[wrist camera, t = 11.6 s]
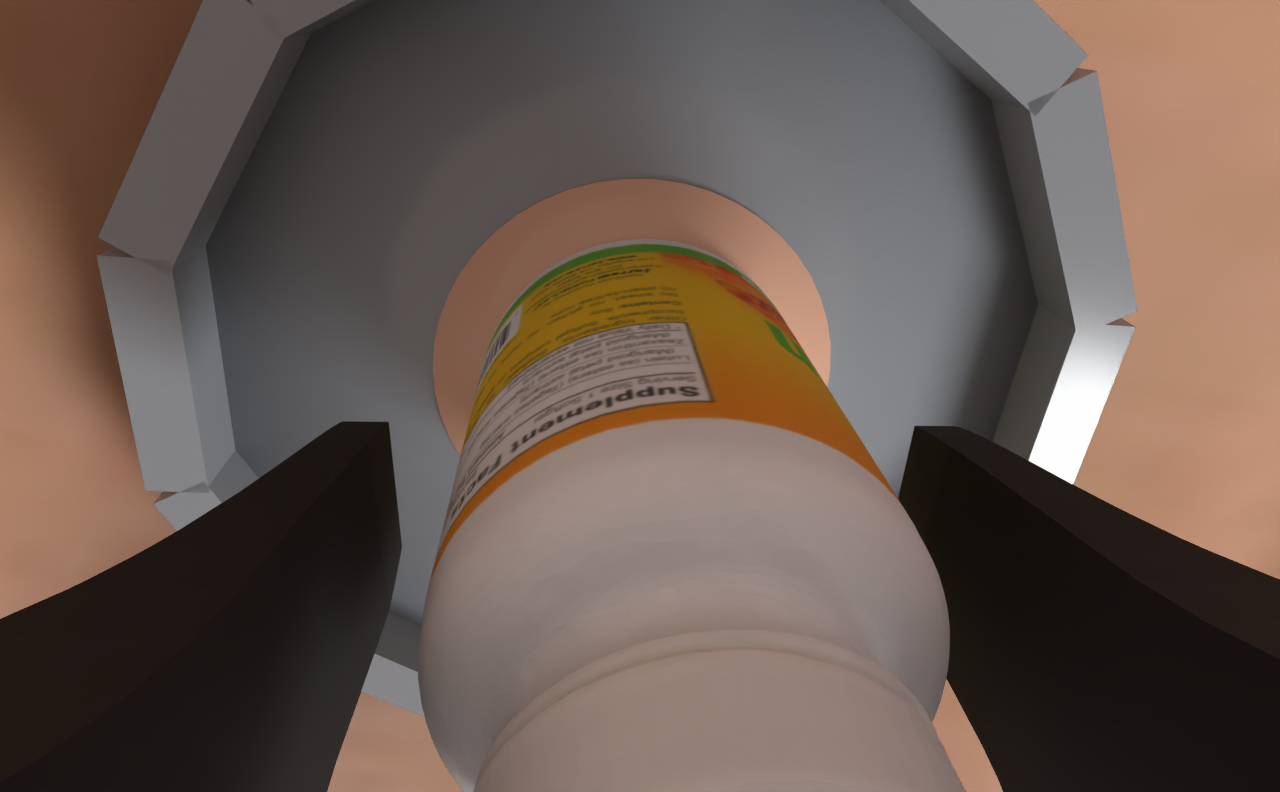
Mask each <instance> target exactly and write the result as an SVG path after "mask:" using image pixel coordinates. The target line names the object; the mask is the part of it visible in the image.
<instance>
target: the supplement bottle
mask: <svg viewBox="0 0 1280 792" xmlns="http://www.w3.org/2000/svg"><path fill="white" fill-rule="evenodd" d="M949 652H950V624H949V616H948V608H947V603H946V599H945V594H944V591H943V587H942V584H941V580H940V577H939V574H938V572H937V569H936V567H935V565H934V562H933V560H932V558H931V556H930V554H929V552H928V550H927V548H926V546H925V544H924V542H923V540H922V539H921V537H920V535H919V533H918V531H917V529H916V527H915V525H914V524H913V522H912V520H911V519H910V517H909V516H908V514H907V512H906V511H905V509H904V508H903V506H902V504H901V503H900V501H899V499H898V498H897V496H896V495H895V493H894V491H893V490H892V488H891V487H890V485H889V483H888V482H887V480H886V479H885V477H884V475H883V474H882V472H881V471H880V469H879V468H878V466H877V464H876V463H875V461H874V460H873V458H872V456H871V455H870V453H869V452H868V450H867V449H866V447H865V445H864V444H863V442H862V441H861V439H860V438H859V436H858V434H857V433H856V431H855V430H854V428H853V427H852V425H851V423H850V422H849V420H848V419H847V417H846V416H845V414H844V413H843V411H842V409H841V408H840V406H839V405H838V403H837V402H836V400H835V399H834V397H833V395H832V394H831V392H830V391H829V389H828V388H827V386H826V384H825V383H824V381H823V380H822V378H821V377H820V375H819V373H818V372H817V370H816V369H815V367H814V366H813V364H812V363H811V361H810V359H809V358H808V356H807V355H806V353H805V351H804V350H803V348H802V347H801V345H800V344H799V342H798V341H797V339H796V337H795V336H794V334H793V333H792V331H791V330H790V328H789V327H788V325H787V324H786V322H785V320H784V318H783V317H782V315H781V314H780V312H779V311H778V310H777V308H776V307H775V305H774V304H773V303H772V302H771V300H770V299H769V298H768V297H767V296H766V294H765V293H764V292H763V291H762V289H761V288H760V287H759V286H758V285H757V284H756V283H755V282H754V281H753V280H752V279H751V278H749V277H748V276H747V275H746V274H745V273H744V272H742V271H741V270H740V269H738V268H737V267H735V266H734V265H732V264H731V263H729V262H728V261H726V260H725V259H723V258H721V257H719V256H717V255H715V254H713V253H711V252H709V251H706V250H703V249H700V248H698V247H695V246H692V245H689V244H684V243H680V242H676V241H669V240H661V239H630V240H620V241H615V242H610V243H605V244H600V245H596V246H593V247H590V248H587V249H584V250H582V251H579V252H577V253H574V254H572V255H569V256H567V257H565V258H564V259H562V260H560V261H558V262H557V263H555V264H554V265H552V266H550V267H549V268H547V269H546V270H544V271H543V272H542V273H541V274H539V275H538V276H537V277H536V278H535V279H533V280H532V281H531V282H530V283H529V284H528V285H527V286H526V287H525V288H524V289H523V290H522V291H521V292H520V294H519V295H518V296H517V297H516V298H515V299H514V301H513V302H512V303H511V304H510V306H509V307H508V309H507V310H506V312H505V313H504V315H503V317H502V318H501V320H500V322H499V323H498V325H497V327H496V329H495V331H494V334H493V336H492V339H491V342H490V344H489V347H488V349H487V352H486V356H485V359H484V362H483V366H482V369H481V373H480V377H479V380H478V385H477V389H476V392H475V398H474V402H473V405H472V410H471V415H470V418H469V422H468V427H467V431H466V435H465V439H464V443H463V447H462V451H461V455H460V460H459V463H458V466H457V471H456V476H455V480H454V485H453V489H452V493H451V498H450V502H449V506H448V510H447V514H446V518H445V522H444V526H443V530H442V534H441V538H440V542H439V546H438V550H437V554H436V558H435V562H434V567H433V570H432V574H431V579H430V583H429V587H428V591H427V596H426V600H425V605H424V612H423V619H422V626H421V631H420V640H419V649H418V683H419V690H420V697H421V704H422V708H423V712H424V716H425V719H426V723H427V726H428V729H429V732H430V734H431V737H432V740H433V742H434V745H435V747H436V749H437V751H438V753H439V755H440V757H441V759H442V761H443V763H444V764H445V766H446V768H447V769H448V771H449V772H450V773H451V775H452V776H453V778H454V779H455V780H456V782H457V783H458V785H459V786H460V787H461V789H462V790H463V791H464V792H966V791H965V789H964V787H963V785H962V783H961V781H960V779H959V777H958V775H957V773H956V771H955V769H954V768H953V766H952V764H951V762H950V759H949V757H948V755H947V753H946V751H945V749H944V747H943V745H942V743H941V742H940V740H939V738H938V736H937V733H936V730H935V728H934V726H933V724H932V721H933V719H934V717H935V714H936V711H937V709H938V706H939V704H940V701H941V697H942V693H943V689H944V685H945V681H946V677H947V672H948V665H949Z"/></svg>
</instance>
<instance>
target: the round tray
mask: <svg viewBox="0 0 1280 792" xmlns="http://www.w3.org/2000/svg"><path fill="white" fill-rule="evenodd" d="M1087 56H1088V54H1087V53H1086V52H1085V51H1084V50H1083V49H1082V48H1081V47H1080V46H1079V45H1078V44H1077V43H1076V42H1075V41H1074V40H1073V39H1072V38H1071V37H1070V36H1069V35H1068V34H1067V33H1066V32H1065V31H1064V30H1063V29H1062V28H1061V27H1060V26H1059V25H1058V24H1057V23H1056V22H1055V21H1054V20H1053V19H1052V18H1051V17H1050V16H1049V15H1048V14H1047V13H1046V12H1045V11H1044V10H1043V9H1042V8H1041V7H1040V6H1039V5H1038V4H1037V3H1036V2H1035V1H1034V0H203V1H202V4H201V6H200V8H199V10H198V13H197V15H196V17H195V19H194V22H193V24H192V26H191V28H190V31H189V33H188V35H187V38H186V40H185V42H184V44H183V47H182V49H181V51H180V53H179V56H178V58H177V60H176V62H175V65H174V67H173V69H172V71H171V74H170V76H169V78H168V80H167V83H166V85H165V87H164V90H163V92H162V94H161V96H160V99H159V101H158V103H157V105H156V108H155V110H154V112H153V114H152V117H151V119H150V121H149V123H148V126H147V128H146V130H145V132H144V135H143V137H142V139H141V141H140V144H139V146H138V148H137V151H136V153H135V155H134V157H133V160H132V162H131V164H130V166H129V169H128V171H127V173H126V175H125V178H124V180H123V182H122V184H121V187H120V189H119V191H118V193H117V196H116V198H115V200H114V202H113V205H112V207H111V209H110V212H109V214H108V216H107V218H106V221H105V223H104V225H103V227H102V230H101V232H100V234H99V236H98V238H100V239H102V240H104V241H105V242H107V243H109V244H111V245H113V247H111V248H109V249H107V250H105V251H104V252H102V253H100V254H98V255H96V256H97V261H98V266H99V270H100V275H101V280H102V285H103V289H104V294H105V299H106V304H107V309H108V313H109V318H110V323H111V328H112V333H113V337H114V342H115V347H116V352H117V357H118V361H119V366H120V371H121V376H122V381H123V385H124V390H125V395H126V400H127V405H128V409H129V414H130V419H131V424H132V428H133V433H134V438H135V443H136V448H137V452H138V457H139V462H140V467H141V472H142V476H143V481H144V486H145V491H163V493H162V494H161V495H160V496H159V498H158V499H157V500H156V501H155V502H154V504H153V505H154V506H155V507H156V508H157V509H158V511H159V512H160V513H161V514H162V515H163V516H164V517H165V518H166V519H167V520H168V521H169V523H170V524H171V525H172V526H173V527H174V528H175V529H176V530H177V531H178V530H180V529H181V528H183V527H185V526H186V525H188V524H189V523H191V522H192V521H194V520H196V519H197V518H199V517H200V516H202V515H204V514H205V513H207V512H208V511H210V510H211V509H213V508H215V507H216V506H218V505H219V504H221V503H223V502H224V501H226V500H227V499H229V498H230V497H232V496H234V495H235V494H237V493H238V492H240V491H241V490H243V489H244V488H246V487H247V486H249V485H250V484H251V483H253V482H254V481H256V480H257V479H259V478H260V477H261V476H263V475H264V474H266V473H267V472H269V471H270V470H271V469H273V468H274V467H276V466H277V465H279V464H280V463H281V462H283V461H284V460H286V459H287V458H289V457H290V456H291V455H293V454H294V453H296V452H297V451H298V450H300V449H301V448H303V447H304V446H305V445H307V444H308V443H310V442H311V441H312V440H314V439H315V438H317V437H318V436H320V435H321V434H322V433H324V432H325V431H327V430H328V429H330V428H332V427H333V426H335V425H337V424H338V423H340V422H342V421H355V422H389V429H390V438H391V448H392V457H393V466H394V476H395V485H396V494H397V504H398V513H399V523H400V532H401V541H402V550H401V555H400V561H399V566H398V571H397V576H396V581H395V586H394V591H393V595H392V600H391V605H390V609H389V613H388V616H387V619H386V622H385V625H384V628H383V631H382V634H381V636H380V639H379V642H378V645H377V648H376V651H375V654H374V657H373V659H372V662H371V665H370V668H369V671H368V674H367V676H366V679H365V682H364V685H363V688H362V690H361V691H362V692H364V693H366V694H369V695H371V696H374V697H376V698H379V699H381V700H383V701H386V702H388V703H391V704H393V705H396V706H398V707H401V708H403V709H405V710H408V711H410V712H413V713H415V714H418V715H420V716H422V717H425V716H424V712H423V708H422V704H421V697H420V690H419V683H418V649H419V640H420V631H421V626H422V619H423V612H424V605H425V600H426V596H427V591H428V587H429V583H430V579H431V574H432V570H433V567H434V562H435V558H436V554H437V550H438V546H439V542H440V538H441V534H442V530H443V526H444V522H445V518H446V514H447V510H448V506H449V502H450V498H451V493H452V489H453V485H454V480H455V476H456V471H457V466H458V463H459V460H460V455H461V451H462V447H463V443H464V439H465V435H466V431H467V427H468V422H469V418H470V415H471V410H472V405H473V402H474V398H475V392H476V389H477V385H478V380H479V377H480V373H481V369H482V366H483V362H484V359H485V356H486V352H487V349H488V347H489V344H490V342H491V339H492V336H493V334H494V331H495V329H496V327H497V325H498V323H499V322H500V320H501V318H502V317H503V315H504V313H505V312H506V310H507V309H508V307H509V306H510V304H511V303H512V302H513V301H514V299H515V298H516V297H517V296H518V295H519V294H520V292H521V291H522V290H523V289H524V288H525V287H526V286H527V285H528V284H529V283H530V282H531V281H532V280H533V279H535V278H536V277H537V276H538V275H539V274H541V273H542V272H543V271H544V270H546V269H547V268H549V267H550V266H552V265H554V264H555V263H557V262H558V261H560V260H562V259H564V258H565V257H567V256H569V255H572V254H574V253H577V252H579V251H582V250H584V249H587V248H590V247H593V246H596V245H600V244H605V243H610V242H615V241H620V240H630V239H661V240H669V241H676V242H680V243H684V244H689V245H692V246H695V247H698V248H700V249H703V250H706V251H709V252H711V253H713V254H715V255H717V256H719V257H721V258H723V259H725V260H726V261H728V262H729V263H731V264H732V265H734V266H735V267H737V268H738V269H740V270H741V271H742V272H744V273H745V274H746V275H747V276H748V277H749V278H751V279H752V280H753V281H754V282H755V283H756V284H757V285H758V286H759V287H760V288H761V289H762V291H763V292H764V293H765V294H766V296H767V297H768V298H769V299H770V300H771V302H772V303H773V304H774V305H775V307H776V308H777V310H778V311H779V312H780V314H781V315H782V317H783V318H784V320H785V322H786V324H787V325H788V327H789V328H790V330H791V331H792V333H793V334H794V336H795V337H796V339H797V341H798V342H799V344H800V345H801V347H802V348H803V350H804V351H805V353H806V355H807V356H808V358H809V359H810V361H811V363H812V364H813V366H814V367H815V369H816V370H817V372H818V373H819V375H820V377H821V378H822V380H823V381H824V383H825V384H826V386H827V388H828V389H829V391H830V392H831V394H832V395H833V397H834V399H835V400H836V402H837V403H838V405H839V406H840V408H841V409H842V411H843V413H844V414H845V416H846V417H847V419H848V420H849V422H850V423H851V425H852V427H853V428H854V430H855V431H856V433H857V434H858V436H859V438H860V439H861V441H862V442H863V444H864V445H865V447H866V449H867V450H868V452H869V453H870V455H871V456H872V458H873V460H874V461H875V463H876V464H877V466H878V468H879V469H880V471H881V472H882V474H883V475H884V477H885V479H886V480H887V482H888V483H889V485H890V487H891V488H892V490H893V491H894V493H895V495H896V496H897V498H898V496H899V492H900V487H901V483H902V479H903V474H904V470H905V465H906V461H907V457H908V452H909V448H910V444H911V439H912V435H913V430H914V426H958V427H961V428H963V429H966V430H968V431H971V432H973V433H975V434H977V435H980V436H982V437H984V438H986V439H988V440H990V441H992V442H994V443H996V444H998V445H1000V446H1002V447H1004V448H1006V449H1008V450H1009V451H1011V452H1013V453H1015V454H1017V455H1019V456H1021V457H1023V458H1024V459H1026V460H1028V461H1030V462H1032V463H1034V464H1036V465H1037V466H1039V467H1041V468H1043V469H1045V470H1047V471H1049V472H1050V473H1052V474H1054V475H1056V476H1058V477H1060V478H1062V479H1063V480H1065V481H1067V482H1069V483H1071V484H1073V483H1074V480H1075V478H1076V475H1077V473H1078V470H1079V468H1080V465H1081V463H1082V460H1083V458H1084V455H1085V452H1086V450H1087V447H1088V445H1089V442H1090V440H1091V437H1092V435H1093V432H1094V430H1095V427H1096V425H1097V422H1098V420H1099V417H1100V415H1101V412H1102V410H1103V407H1104V405H1105V402H1106V400H1107V397H1108V395H1109V392H1110V390H1111V387H1112V385H1113V382H1114V379H1115V377H1116V374H1117V372H1118V369H1119V367H1120V364H1121V362H1122V359H1123V357H1124V354H1125V352H1126V349H1127V347H1128V344H1129V342H1130V339H1131V337H1132V334H1133V332H1134V329H1135V326H1133V325H1132V324H1130V323H1128V322H1127V321H1125V320H1123V319H1122V317H1125V316H1127V315H1130V314H1132V313H1134V312H1137V306H1136V300H1135V294H1134V288H1133V282H1132V276H1131V270H1130V264H1129V259H1128V253H1127V247H1126V241H1125V235H1124V229H1123V223H1122V217H1121V211H1120V205H1119V199H1118V193H1117V187H1116V182H1115V176H1114V170H1113V164H1112V158H1111V152H1110V146H1109V140H1108V134H1107V128H1106V122H1105V116H1104V111H1103V105H1102V99H1101V93H1100V87H1099V81H1098V75H1097V71H1093V70H1087V69H1081V68H1078V66H1079V65H1080V64H1081V63H1082V62H1083V61H1084V59H1085V58H1086V57H1087Z"/></svg>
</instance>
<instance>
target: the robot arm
mask: <svg viewBox="0 0 1280 792" xmlns="http://www.w3.org/2000/svg"><path fill="white" fill-rule="evenodd" d="M898 499H899V501H900V503H901V504H902V506H903V508H904V509H905V511H906V512H907V514H908V516H909V517H910V519H911V520H912V522H913V524H914V525H915V527H916V529H917V531H918V533H919V535H920V537H921V539H922V540H923V542H924V544H925V546H926V548H927V550H928V552H929V554H930V556H931V558H932V560H933V562H934V565H935V567H936V569H937V572H938V574H939V577H940V580H941V584H942V587H943V591H944V594H945V599H946V603H947V608H948V616H949V624H950V652H949V665H948V672H947V677H946V678H947V680H948V682H949V684H950V686H951V688H952V689H953V691H954V693H955V695H956V697H957V699H958V701H959V703H960V704H961V706H962V708H963V710H964V712H965V714H966V716H967V718H968V720H969V721H970V723H971V725H972V727H973V729H974V731H975V733H976V735H977V736H978V738H979V740H980V742H981V744H982V746H983V748H984V750H985V752H986V754H987V756H988V759H989V761H990V763H991V765H992V767H993V769H994V771H995V773H996V775H997V777H998V780H999V782H1000V785H1001V787H1002V790H1003V792H1280V579H1277V578H1274V577H1272V576H1269V575H1267V574H1264V573H1262V572H1259V571H1257V570H1254V569H1252V568H1250V567H1247V566H1245V565H1242V564H1240V563H1237V562H1235V561H1233V560H1230V559H1228V558H1225V557H1223V556H1220V555H1218V554H1215V553H1213V552H1211V551H1208V550H1206V549H1204V548H1201V547H1199V546H1197V545H1195V544H1192V543H1190V542H1188V541H1186V540H1183V539H1181V538H1179V537H1177V536H1175V535H1172V534H1170V533H1168V532H1166V531H1164V530H1162V529H1160V528H1158V527H1156V526H1154V525H1152V524H1150V523H1148V522H1145V521H1143V520H1141V519H1139V518H1137V517H1135V516H1133V515H1131V514H1129V513H1127V512H1125V511H1123V510H1121V509H1119V508H1117V507H1115V506H1113V505H1111V504H1109V503H1107V502H1105V501H1103V500H1101V499H1099V498H1097V497H1095V496H1094V495H1092V494H1090V493H1088V492H1086V491H1084V490H1082V489H1080V488H1078V487H1077V486H1075V485H1073V484H1071V483H1069V482H1067V481H1065V480H1063V479H1062V478H1060V477H1058V476H1056V475H1054V474H1052V473H1050V472H1049V471H1047V470H1045V469H1043V468H1041V467H1039V466H1037V465H1036V464H1034V463H1032V462H1030V461H1028V460H1026V459H1024V458H1023V457H1021V456H1019V455H1017V454H1015V453H1013V452H1011V451H1009V450H1008V449H1006V448H1004V447H1002V446H1000V445H998V444H996V443H994V442H992V441H990V440H988V439H986V438H984V437H982V436H980V435H977V434H975V433H973V432H971V431H968V430H966V429H963V428H961V427H958V426H914V430H913V435H912V439H911V444H910V448H909V452H908V457H907V461H906V465H905V470H904V474H903V479H902V483H901V487H900V492H899V496H898ZM401 550H402V541H401V532H400V523H399V513H398V504H397V494H396V485H395V476H394V466H393V457H392V448H391V438H390V429H389V422H355V421H342V422H340V423H338V424H337V425H335V426H333V427H332V428H330V429H328V430H327V431H325V432H324V433H322V434H321V435H320V436H318V437H317V438H315V439H314V440H312V441H311V442H310V443H308V444H307V445H305V446H304V447H303V448H301V449H300V450H298V451H297V452H296V453H294V454H293V455H291V456H290V457H289V458H287V459H286V460H284V461H283V462H281V463H280V464H279V465H277V466H276V467H274V468H273V469H271V470H270V471H269V472H267V473H266V474H264V475H263V476H261V477H260V478H259V479H257V480H256V481H254V482H253V483H251V484H250V485H249V486H247V487H246V488H244V489H243V490H241V491H240V492H238V493H237V494H235V495H234V496H232V497H230V498H229V499H227V500H226V501H224V502H223V503H221V504H219V505H218V506H216V507H215V508H213V509H211V510H210V511H208V512H207V513H205V514H204V515H202V516H200V517H199V518H197V519H196V520H194V521H192V522H191V523H189V524H188V525H186V526H185V527H183V528H181V529H180V530H178V531H177V532H175V533H173V534H172V535H170V536H168V537H167V538H165V539H163V540H161V541H160V542H158V543H156V544H154V545H153V546H151V547H149V548H147V549H145V550H144V551H142V552H140V553H138V554H136V555H135V556H133V557H131V558H129V559H127V560H125V561H123V562H121V563H119V564H117V565H115V566H113V567H111V568H110V569H108V570H106V571H104V572H102V573H100V574H98V575H96V576H94V577H92V578H90V579H88V580H86V581H84V582H82V583H80V584H78V585H76V586H74V587H72V588H70V589H67V590H65V591H63V592H61V593H58V594H56V595H54V596H52V597H49V598H47V599H45V600H42V601H40V602H38V603H36V604H33V605H31V606H29V607H27V608H24V609H22V610H20V611H17V612H15V613H13V614H11V615H8V616H6V617H4V618H2V619H0V792H327V790H328V787H329V783H330V780H331V777H332V774H333V770H334V767H335V764H336V761H337V758H338V755H339V752H340V749H341V747H342V744H343V741H344V738H345V735H346V732H347V730H348V727H349V724H350V721H351V718H352V716H353V713H354V710H355V707H356V704H357V702H358V699H359V696H360V693H361V690H362V688H363V685H364V682H365V679H366V676H367V674H368V671H369V668H370V665H371V662H372V659H373V657H374V654H375V651H376V648H377V645H378V642H379V639H380V636H381V634H382V631H383V628H384V625H385V622H386V619H387V616H388V613H389V609H390V605H391V600H392V595H393V591H394V586H395V581H396V576H397V571H398V566H399V561H400V555H401Z"/></svg>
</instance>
